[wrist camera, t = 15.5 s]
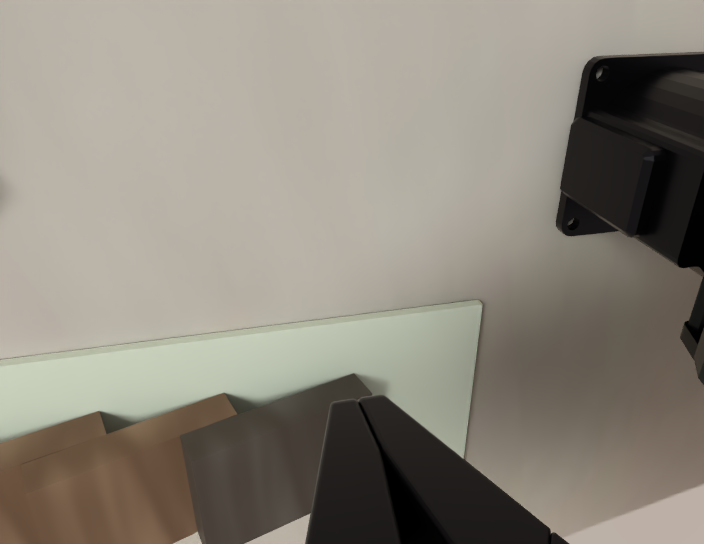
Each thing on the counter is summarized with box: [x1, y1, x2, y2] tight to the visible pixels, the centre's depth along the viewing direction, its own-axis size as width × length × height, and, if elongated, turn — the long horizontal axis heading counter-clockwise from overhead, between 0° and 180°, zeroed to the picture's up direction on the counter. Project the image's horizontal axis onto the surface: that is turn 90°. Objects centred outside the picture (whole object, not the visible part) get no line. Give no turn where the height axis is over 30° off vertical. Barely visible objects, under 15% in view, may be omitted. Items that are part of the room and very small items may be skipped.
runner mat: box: [0, 300, 482, 534], centre depth 23 cm, size 28×10×1 cm, turn 90°
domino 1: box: [0, 411, 106, 544], centre depth 21 cm, size 1×5×7 cm
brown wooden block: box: [21, 393, 238, 544], centre depth 22 cm, size 1×5×7 cm
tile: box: [180, 373, 372, 544], centre depth 23 cm, size 1×5×7 cm
